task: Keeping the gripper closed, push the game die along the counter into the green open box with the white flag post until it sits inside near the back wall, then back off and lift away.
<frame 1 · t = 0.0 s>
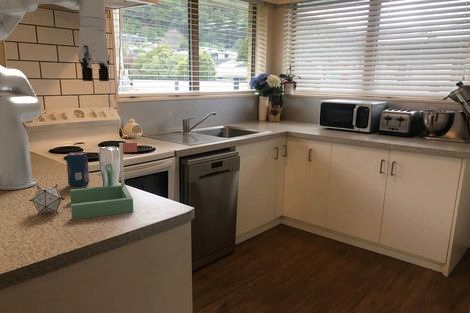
hand: (96, 81, 118), 37 cm above the countertop, tool pointing down, fingers open, 9 cm apart
beer glass: (111, 191, 127), on the countertop
green open box: (100, 206, 111), on the countertop
game die: (48, 213, 105), on the countertop
soda can: (79, 186, 132), on the countertop
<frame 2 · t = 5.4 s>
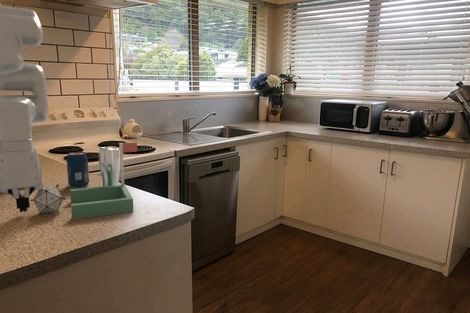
hand: (23, 210, 102), 2 cm above the countertop, tool pointing down, fingers closed
game die: (49, 213, 105), on the countertop, touching gripper
everything else where it was.
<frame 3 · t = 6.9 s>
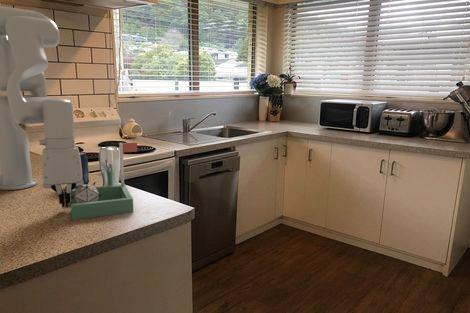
hand: (65, 205, 106), 2 cm above the countertop, tool pointing down, fingers closed
game die: (86, 209, 108), on the countertop, touching gripper
everything else where it was.
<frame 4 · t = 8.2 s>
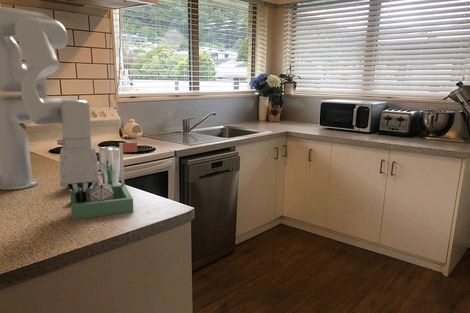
hand: (81, 204, 108), 2 cm above the countertop, tool pointing down, fingers closed
game die: (101, 208, 109), on the countertop, touching gripper
everything else where it was.
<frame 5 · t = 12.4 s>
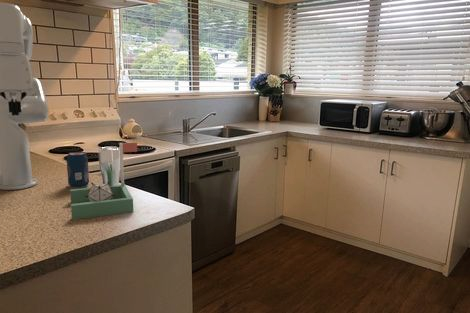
hand: (15, 114, 107), 27 cm above the countertop, tool pointing down, fingers closed
game die: (101, 209, 109), on the countertop
everything else where it was.
at the end: game die 1.9 cm from the target spot, on the countertop; game die tilted 2°; game die moved 14.3 cm from its start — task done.
